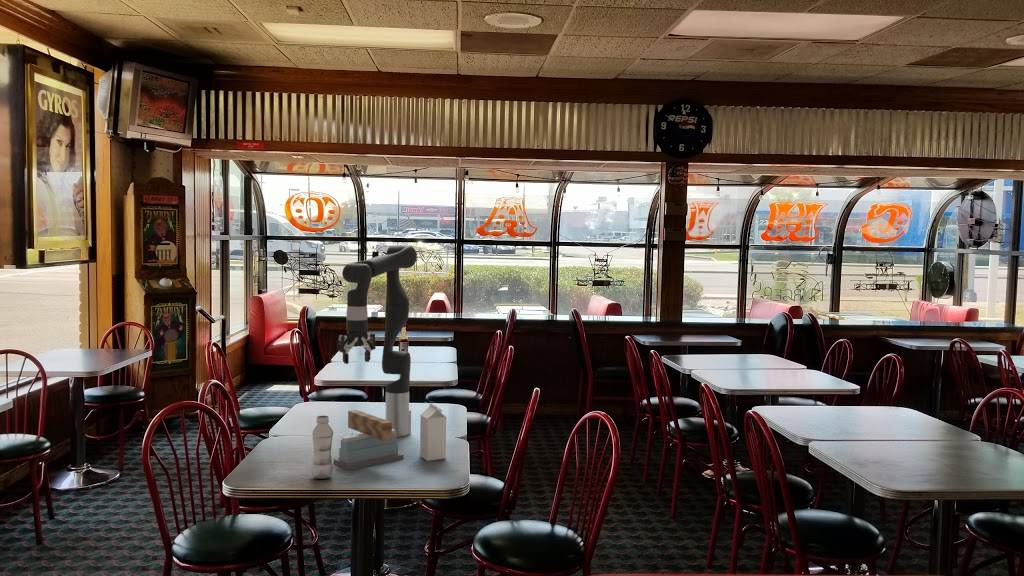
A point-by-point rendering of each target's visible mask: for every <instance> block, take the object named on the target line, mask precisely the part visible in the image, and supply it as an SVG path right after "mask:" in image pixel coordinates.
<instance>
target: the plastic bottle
mask: <svg viewBox="0 0 1024 576" xmlns="http://www.w3.org/2000/svg"><path fill="white" fill-rule="evenodd" d="M329 418H330V417H329V416H328V415H317V416H316V422H315V423H316V425H315V427H314V428H313V430H312V432H311V434H312V435H311V436H312V443H313V458H312V465H311V475H312V477H313V478H314V479H316V480H317V479H318V480H319V479H320V480H321V479H322V480H323V479H328V478H330V477H331V476H332V475H333V470H334V469H333V463H332V444H333V436H334V431H333V429H332V427H331V426H330V425H329V423H330V421H329Z"/></svg>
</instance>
